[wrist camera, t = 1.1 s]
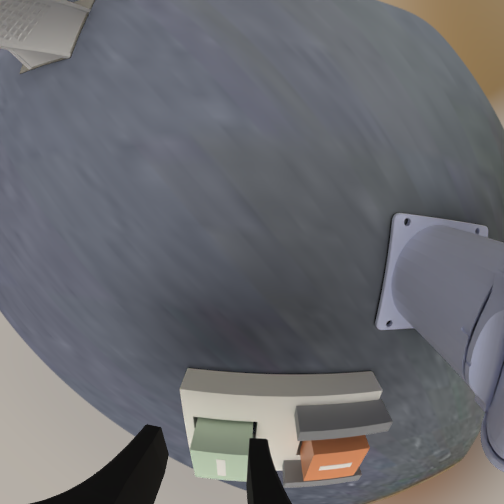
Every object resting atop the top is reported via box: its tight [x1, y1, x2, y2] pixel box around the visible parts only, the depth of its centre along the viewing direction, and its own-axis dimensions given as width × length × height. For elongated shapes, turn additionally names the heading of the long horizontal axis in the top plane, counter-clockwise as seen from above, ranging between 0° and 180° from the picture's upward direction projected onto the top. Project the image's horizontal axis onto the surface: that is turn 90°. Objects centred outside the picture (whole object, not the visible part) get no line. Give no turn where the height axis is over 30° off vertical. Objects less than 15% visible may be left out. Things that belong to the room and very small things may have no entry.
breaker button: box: [300, 435, 370, 481], centre depth 16 cm, size 4×4×3 cm
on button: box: [190, 417, 253, 482], centre depth 16 cm, size 4×4×3 cm
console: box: [180, 368, 393, 488], centre depth 17 cm, size 14×10×5 cm
